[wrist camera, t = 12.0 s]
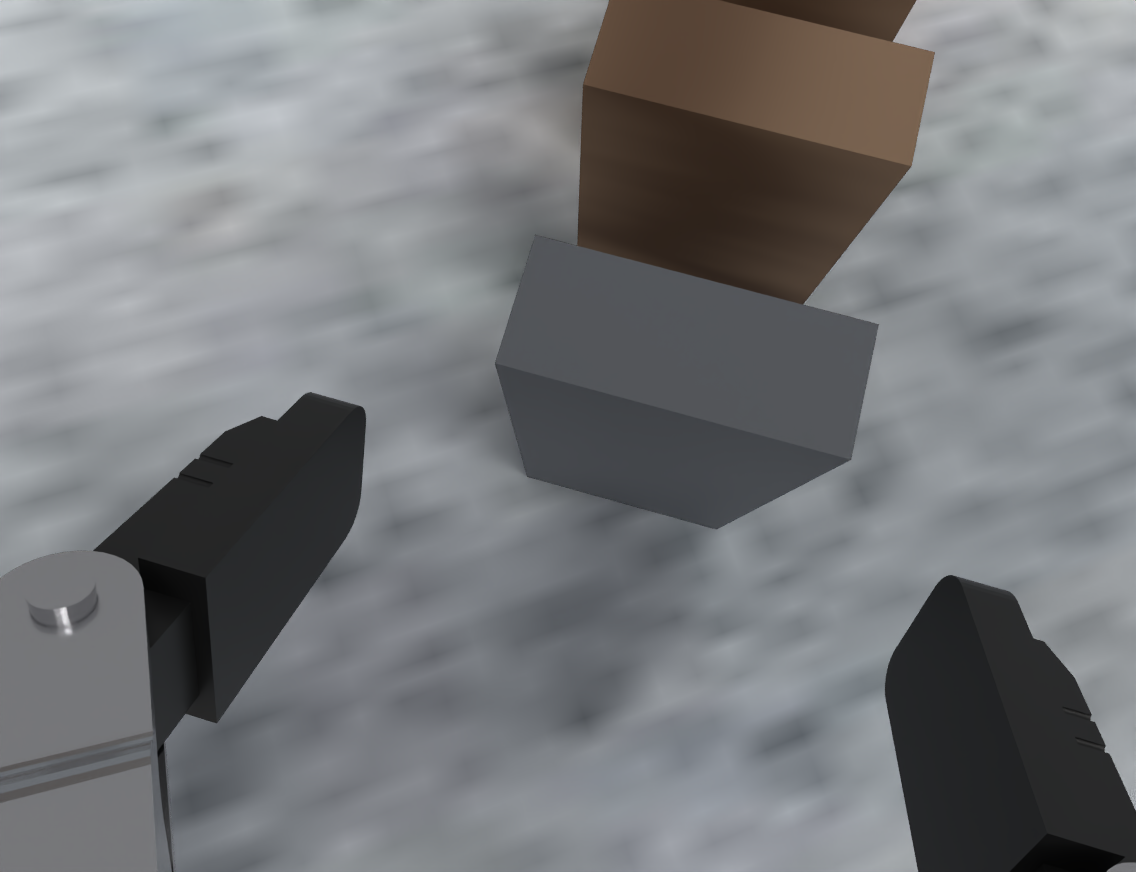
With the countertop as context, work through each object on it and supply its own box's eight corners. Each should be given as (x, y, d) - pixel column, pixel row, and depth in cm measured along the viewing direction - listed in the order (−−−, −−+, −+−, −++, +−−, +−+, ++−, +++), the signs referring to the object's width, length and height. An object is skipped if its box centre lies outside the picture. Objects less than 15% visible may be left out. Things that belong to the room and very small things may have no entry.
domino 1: (806, 153, 22) (982, -177, 13) (791, 215, 22) (962, -79, 12) (635, 110, 22) (687, -244, 13) (617, 171, 22) (657, -150, 13)
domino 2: (772, 296, 21) (934, 52, 12) (755, 364, 21) (911, 166, 11) (594, 250, 21) (617, -25, 12) (575, 316, 21) (582, 83, 12)
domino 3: (734, 454, 20) (878, 324, 11) (716, 529, 20) (851, 459, 10) (548, 404, 20) (535, 235, 11) (527, 476, 20) (494, 362, 11)
